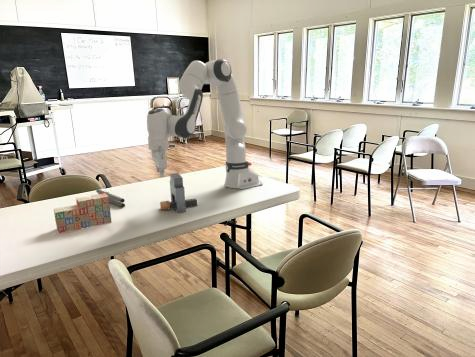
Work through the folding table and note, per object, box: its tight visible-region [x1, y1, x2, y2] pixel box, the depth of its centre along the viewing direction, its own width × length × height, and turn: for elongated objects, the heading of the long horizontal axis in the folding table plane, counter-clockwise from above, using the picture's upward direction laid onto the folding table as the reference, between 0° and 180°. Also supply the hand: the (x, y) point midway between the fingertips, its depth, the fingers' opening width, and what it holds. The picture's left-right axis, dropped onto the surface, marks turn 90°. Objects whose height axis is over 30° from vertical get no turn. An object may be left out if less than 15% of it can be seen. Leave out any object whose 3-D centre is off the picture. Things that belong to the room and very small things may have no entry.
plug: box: [159, 198, 198, 211], centre depth 172 cm, size 18×4×4 cm, turn 111°
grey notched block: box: [169, 172, 187, 214], centre depth 171 cm, size 4×15×16 cm, turn 21°
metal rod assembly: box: [95, 188, 126, 208], centre depth 182 cm, size 26×3×5 cm, turn 48°
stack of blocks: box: [53, 193, 112, 234], centre depth 151 cm, size 21×6×12 cm, turn 122°
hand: (160, 174), depth 166 cm, fingers open, 8 cm apart
